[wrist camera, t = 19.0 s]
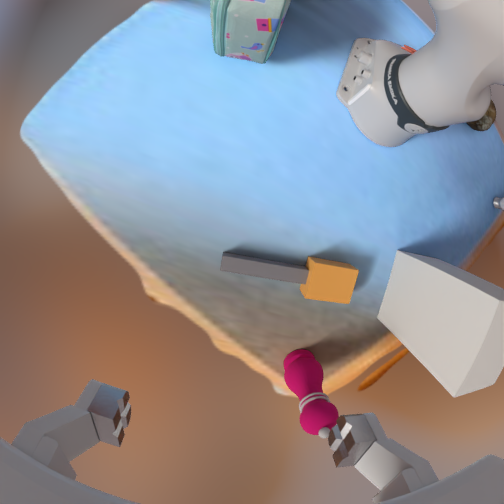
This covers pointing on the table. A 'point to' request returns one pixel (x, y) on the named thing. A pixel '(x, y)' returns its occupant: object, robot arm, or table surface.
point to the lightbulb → (499, 203)
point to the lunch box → (247, 27)
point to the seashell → (484, 119)
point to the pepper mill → (310, 392)
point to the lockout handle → (300, 275)
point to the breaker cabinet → (446, 320)
